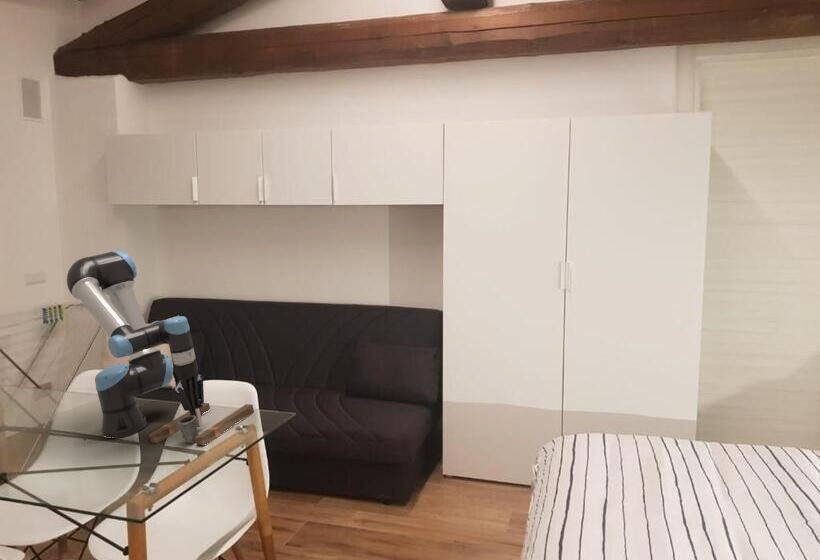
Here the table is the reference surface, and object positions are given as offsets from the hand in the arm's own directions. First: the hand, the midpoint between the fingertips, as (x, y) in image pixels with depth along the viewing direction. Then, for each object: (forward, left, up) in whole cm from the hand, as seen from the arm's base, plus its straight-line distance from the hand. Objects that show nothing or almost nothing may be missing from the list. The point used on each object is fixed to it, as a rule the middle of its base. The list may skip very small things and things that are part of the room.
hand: (198, 426), depth 230 cm
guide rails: (0, +2, -1) cm, 3 cm away
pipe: (+2, -7, -2) cm, 7 cm away
